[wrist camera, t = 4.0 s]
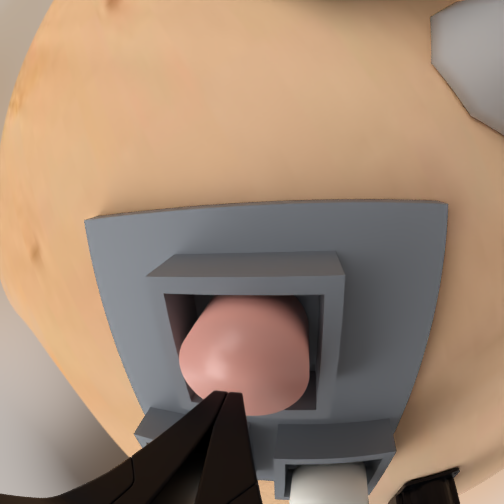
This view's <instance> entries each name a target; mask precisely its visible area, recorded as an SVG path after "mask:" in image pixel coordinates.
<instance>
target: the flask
mask: <svg viewBox="0 0 504 504" xmlns="http://www.w3.org/2000/svg"><path fill="white" fill-rule="evenodd" d="M430 22H431V63H432V65H433V66H434V67H435V68H436V69H437V70H438V72H439V73H440V74H441V75H442V77H443V78H444V79H445V80H446V82H447V83H448V84H449V86H450V87H451V88H452V90H453V91H454V92H455V94H456V95H457V97H458V98H459V99H460V101H461V102H462V104H463V105H464V107H465V108H466V110H467V111H468V113H469V114H470V116H472V117H474V118H475V119H477V120H479V121H481V122H482V123H484V124H486V125H488V126H489V127H491V128H493V129H494V130H496V131H497V132H499V133H501V134H502V135H504V0H464V1H459V2H455V3H454V4H452V5H450V6H448V7H446V8H445V9H443V10H441V11H440V12H438V13H436V14H434V15H433V16H431V17H430Z"/></svg>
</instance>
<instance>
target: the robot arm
mask: <svg viewBox="0 0 504 504" xmlns="http://www.w3.org/2000/svg"><path fill="white" fill-rule="evenodd" d="M459 472H460V470H459V468H455V469H453V470H450V471H446V472H443V473H440V474H437V475H433V476H430V477H426V478H423V479H419V480H415V481H410V482H407V483H405V484H404V485H403V486H402V488H401V489H400V490H399V491H398V492H397V494H396V495H395V496H394V497H393V498H392V499H391V501H390V502H389V503H388V504H460V501H459V497H458V493H457V489H456V485H455V482H454V477H455V476H456V475H457V474H458V473H459ZM0 504H263V503H262V499H261V495H260V490H259V485H258V480H257V475H256V469H255V464H254V458H253V453H252V447H251V441H250V436H249V430H248V424H247V418H246V412H245V406H244V399H243V394H242V393H241V392H229V393H228V392H227V391H219V390H215V391H213V392H211V393H210V394H209V395H208V396H207V397H206V398H204V399H203V400H202V401H201V402H200V403H199V404H197V405H196V406H195V407H194V408H193V409H191V410H190V411H189V412H188V413H187V414H185V415H184V416H183V417H182V418H180V419H179V420H178V421H177V422H176V423H174V424H173V425H172V426H171V427H169V428H168V429H167V430H165V431H164V432H163V433H162V434H160V435H159V436H158V437H156V438H155V439H154V440H153V441H151V442H150V443H149V444H147V445H146V446H145V447H143V448H142V449H141V450H139V451H138V452H136V453H135V454H134V455H132V458H131V457H129V458H128V459H127V460H125V461H124V462H122V463H121V464H120V465H118V466H116V467H115V468H113V469H112V470H110V471H109V472H107V473H105V474H103V475H101V476H99V477H98V478H96V479H94V480H92V481H90V482H88V483H86V484H83V485H81V486H79V487H77V488H75V489H72V490H71V491H68V492H66V493H63V494H61V495H58V496H54V497H49V498H32V497H21V496H13V495H6V494H0Z"/></svg>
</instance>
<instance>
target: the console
mask: <svg viewBox="0 0 504 504" xmlns="http://www.w3.org/2000/svg"><path fill="white" fill-rule="evenodd" d="M447 219H448V204H447V203H443V202H440V201H432V200H395V199H333V200H293V201H268V202H248V203H231V204H216V205H203V206H190V207H178V208H167V209H157V210H147V211H138V212H129V213H120V214H112V215H104V216H96V217H93V218H90V219H87V220H84V223H85V229H86V234H87V240H88V245H89V250H90V255H91V260H92V264H93V268H94V273H95V277H96V281H97V285H98V289H99V293H100V296H101V300H102V303H103V307H104V310H105V314H106V317H107V320H108V323H109V326H110V330H111V333H112V336H113V339H114V341H115V344H116V347H117V350H118V353H119V355H120V358H121V361H122V363H123V366H124V368H125V371H126V373H127V376H128V378H129V381H130V383H131V386H132V388H133V390H134V393H135V395H136V397H137V399H138V401H139V404H140V406H141V408H142V410H143V412H144V414H145V416H144V418H143V420H142V421H141V423H140V425H139V426H138V428H137V429H136V431H135V433H134V435H135V437H136V439H137V440H138V442H139V443H140V445H141V447H142V448H143V447H145V446H146V445H147V444H149V443H150V442H151V441H153V440H154V439H155V438H156V437H158V436H159V435H160V434H162V433H163V432H164V431H165V430H167V429H168V428H169V427H171V426H172V425H173V424H174V423H176V422H177V421H178V420H179V419H180V418H182V417H183V416H184V415H185V414H187V413H188V412H189V411H190V410H191V409H193V408H194V407H195V406H196V405H197V404H199V403H200V402H201V401H202V400H203V399H202V398H201V397H199V396H198V395H197V394H196V393H195V392H194V391H193V390H192V389H191V387H190V386H189V385H188V383H187V382H186V380H185V378H184V377H183V374H182V372H181V369H180V364H179V353H180V349H181V346H182V343H183V342H184V340H185V338H186V337H187V335H188V334H189V332H190V330H191V329H192V327H193V326H194V324H195V323H196V321H197V320H198V318H199V317H200V315H201V314H202V312H203V311H204V309H205V308H206V306H207V304H208V303H209V301H210V300H211V298H212V297H213V296H214V295H294V296H295V297H296V298H297V299H298V300H299V302H300V303H301V304H302V306H303V308H304V310H305V312H306V315H307V318H308V324H309V382H308V385H307V388H306V390H305V392H304V394H303V395H302V396H301V397H300V399H299V400H298V401H296V402H295V403H294V404H293V405H291V406H290V407H288V408H286V409H284V410H282V411H279V412H277V413H273V414H268V415H261V416H247V415H246V418H247V424H248V430H249V436H250V441H251V447H252V453H253V458H254V464H255V469H256V475H257V480H268V481H274V486H275V499H281V500H290V492H291V483H292V474H293V471H294V470H295V469H296V468H297V467H298V466H300V465H301V464H335V463H349V462H359V461H362V462H363V463H364V464H365V467H366V477H367V488H368V495H369V494H370V493H371V492H372V490H373V489H374V487H375V486H376V484H377V483H378V481H379V480H380V478H381V476H382V475H383V473H384V472H385V470H386V468H387V467H388V465H389V463H390V462H391V460H392V458H393V457H394V455H395V453H396V446H395V442H394V437H393V434H394V432H395V430H396V428H397V426H398V423H399V421H400V419H401V416H402V414H403V412H404V409H405V407H406V404H407V402H408V399H409V397H410V394H411V391H412V389H413V386H414V383H415V380H416V377H417V374H418V371H419V368H420V365H421V362H422V359H423V355H424V352H425V348H426V345H427V341H428V337H429V334H430V330H431V326H432V321H433V317H434V313H435V308H436V303H437V298H438V293H439V287H440V282H441V275H442V269H443V261H444V253H445V244H446V233H447Z"/></svg>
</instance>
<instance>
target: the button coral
mask: <svg viewBox="0 0 504 504" xmlns="http://www.w3.org/2000/svg"><path fill="white" fill-rule="evenodd" d="M179 364H180V369H181V372H182V374H183V377H184V378H185V380H186V382H187V383H188V385H189V386H190V387H191V389H192V390H193V391H194V392H195V393H196V394H197V395H198V396H199V397H201V398H202V399H204V398H206V397H207V396H208V395H209V394H210V393H211V392H213V391H215V390H219V391H227V392H228V393H229V392H241V393H242V394H243V399H244V406H245V412H246V415H247V416H261V415H268V414H273V413H277V412H279V411H282V410H284V409H286V408H288V407H290V406H291V405H293V404H294V403H295V402H296V401H298V400H299V399H300V397H301V396H302V395H303V394H304V392H305V390H306V388H307V385H308V382H309V324H308V318H307V315H306V312H305V310H304V308H303V306H302V304H301V303H300V302H299V300H298V299H297V298H296V297H295V296H294V295H214V296H213V297H212V298H211V300H210V301H209V303H208V304H207V306H206V308H205V309H204V311H203V312H202V314H201V315H200V317H199V318H198V320H197V321H196V323H195V324H194V326H193V327H192V329H191V330H190V332H189V334H188V335H187V337H186V338H185V340H184V342H183V343H182V346H181V349H180V353H179Z"/></svg>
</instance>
